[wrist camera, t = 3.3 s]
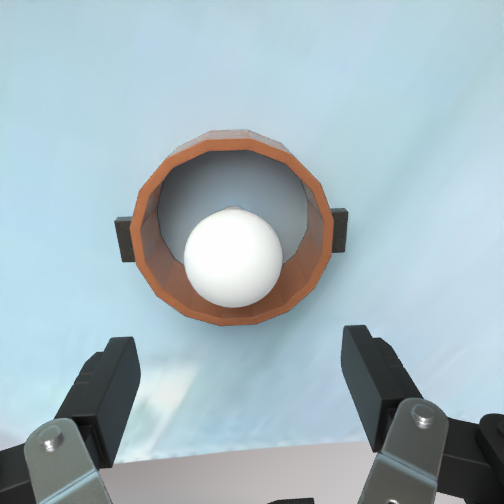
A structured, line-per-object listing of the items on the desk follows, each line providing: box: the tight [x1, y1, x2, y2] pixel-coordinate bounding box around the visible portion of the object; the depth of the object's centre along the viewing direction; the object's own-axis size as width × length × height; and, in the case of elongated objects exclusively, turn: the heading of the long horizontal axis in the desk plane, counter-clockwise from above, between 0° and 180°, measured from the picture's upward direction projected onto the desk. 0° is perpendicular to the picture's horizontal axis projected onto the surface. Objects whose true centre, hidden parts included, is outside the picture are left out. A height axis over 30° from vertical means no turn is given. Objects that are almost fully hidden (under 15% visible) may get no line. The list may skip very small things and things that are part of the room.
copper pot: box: [114, 130, 348, 326], centre depth 27 cm, size 16×14×6 cm
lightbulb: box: [184, 206, 283, 308], centre depth 24 cm, size 6×6×11 cm
